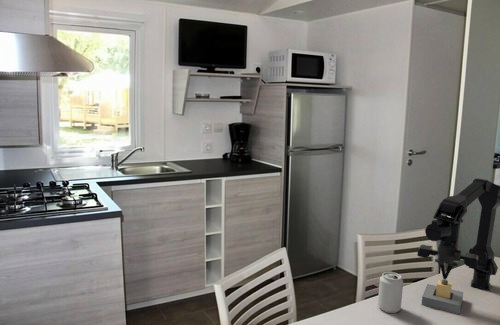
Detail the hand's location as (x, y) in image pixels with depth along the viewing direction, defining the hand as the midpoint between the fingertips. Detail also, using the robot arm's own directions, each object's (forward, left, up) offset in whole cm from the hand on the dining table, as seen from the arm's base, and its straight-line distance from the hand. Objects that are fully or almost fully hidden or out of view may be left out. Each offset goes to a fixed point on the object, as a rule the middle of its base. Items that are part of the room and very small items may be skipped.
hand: (444, 279), depth 154 cm
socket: (0, 0, -9) cm, 9 cm away
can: (+15, -15, -9) cm, 23 cm away
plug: (0, 0, -9) cm, 9 cm away
